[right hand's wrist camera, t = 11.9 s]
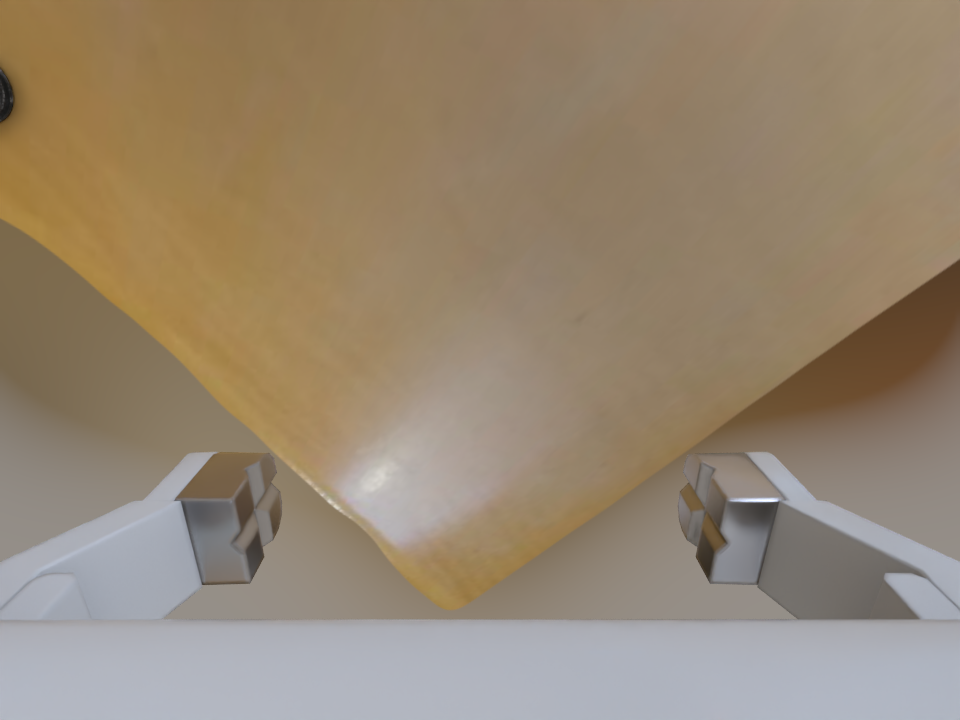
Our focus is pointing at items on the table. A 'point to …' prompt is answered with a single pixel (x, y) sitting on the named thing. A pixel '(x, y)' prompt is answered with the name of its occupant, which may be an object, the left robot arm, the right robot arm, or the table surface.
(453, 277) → the table surface
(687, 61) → the table surface
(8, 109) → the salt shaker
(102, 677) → the right robot arm
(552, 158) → the table surface
